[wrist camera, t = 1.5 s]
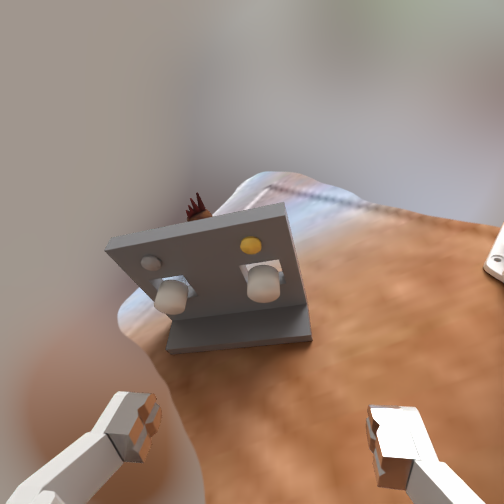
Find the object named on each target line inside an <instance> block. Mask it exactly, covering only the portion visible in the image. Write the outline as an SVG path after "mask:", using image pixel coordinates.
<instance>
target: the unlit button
mask: <svg viewBox="0 0 504 504" xmlns="http://www.w3.org/2000/svg"><path fill="white" fill-rule="evenodd" d="M188 292H189V289H188V287H187V286H186V285H185V284H184V283H182V282H180V281H176V280H165V281H163V282H161V283H160V286H159V289H158V292H157V295H156V299H155V302H154V307H155V308H156V309H157V310H158V311H160V312H162V313H165V314H171V315H175V314H180V313H182V312H184V310H185V306H186V301H187V297H188Z"/></svg>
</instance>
